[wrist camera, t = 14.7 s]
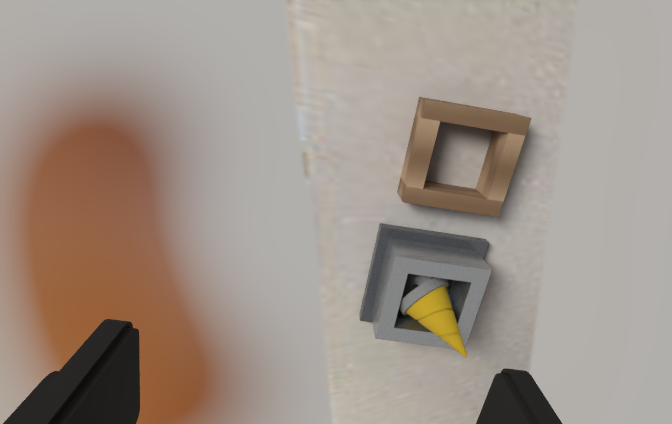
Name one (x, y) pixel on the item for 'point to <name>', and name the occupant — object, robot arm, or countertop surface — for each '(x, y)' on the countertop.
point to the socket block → (495, 166)
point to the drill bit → (432, 308)
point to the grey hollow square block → (427, 260)
